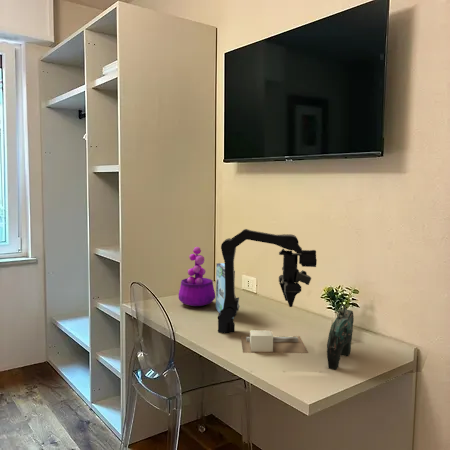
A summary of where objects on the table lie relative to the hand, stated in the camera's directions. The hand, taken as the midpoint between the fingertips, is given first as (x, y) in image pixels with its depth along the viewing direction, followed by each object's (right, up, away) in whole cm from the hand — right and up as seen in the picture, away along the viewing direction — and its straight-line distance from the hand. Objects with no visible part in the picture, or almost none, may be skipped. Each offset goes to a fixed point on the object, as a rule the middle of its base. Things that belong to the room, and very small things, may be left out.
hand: (288, 303), depth 188 cm
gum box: (-26, -11, +33) cm, 44 cm away
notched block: (-12, -14, -16) cm, 25 cm away
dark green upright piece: (+15, -17, -23) cm, 32 cm away
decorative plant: (-40, -9, +49) cm, 64 cm away
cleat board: (-8, -15, -10) cm, 20 cm away
